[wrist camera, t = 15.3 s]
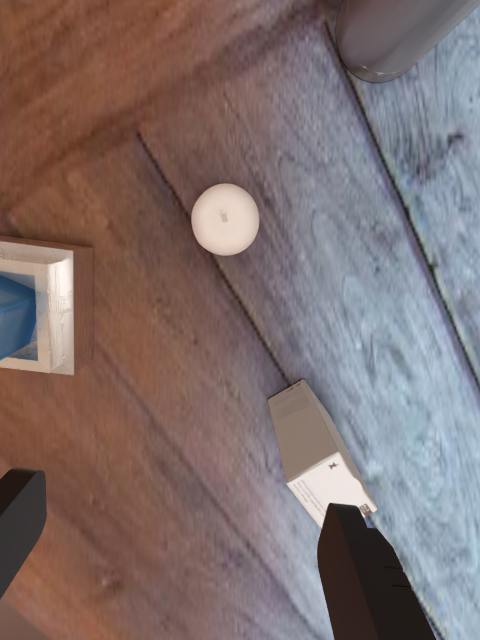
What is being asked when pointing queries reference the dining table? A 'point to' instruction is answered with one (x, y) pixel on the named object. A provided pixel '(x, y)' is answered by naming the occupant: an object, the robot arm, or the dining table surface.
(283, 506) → the dining table surface
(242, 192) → the plain white apple
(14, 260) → the white square stand
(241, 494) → the dining table surface
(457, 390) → the dining table surface
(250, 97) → the dining table surface
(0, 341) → the perfume bottle
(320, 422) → the skincare box
